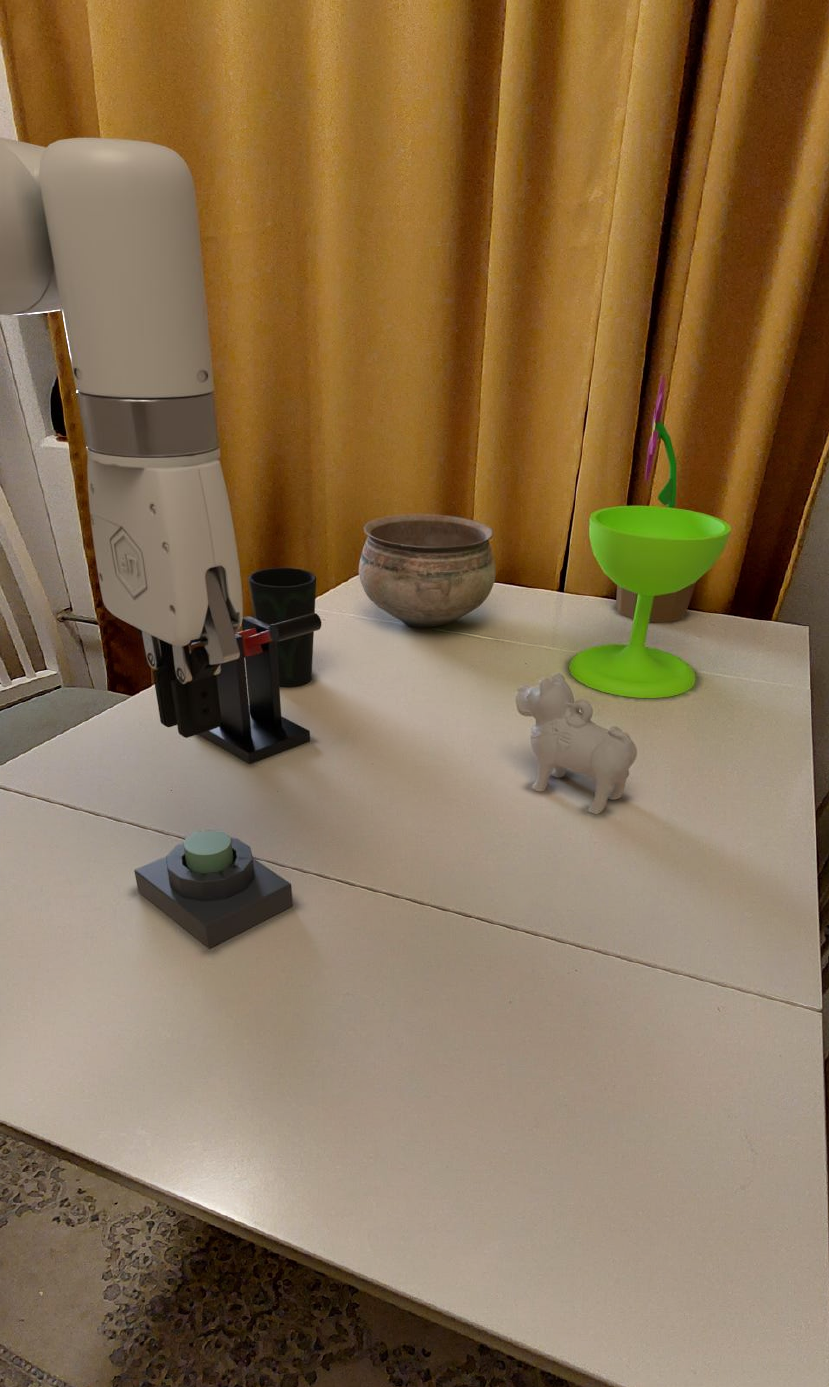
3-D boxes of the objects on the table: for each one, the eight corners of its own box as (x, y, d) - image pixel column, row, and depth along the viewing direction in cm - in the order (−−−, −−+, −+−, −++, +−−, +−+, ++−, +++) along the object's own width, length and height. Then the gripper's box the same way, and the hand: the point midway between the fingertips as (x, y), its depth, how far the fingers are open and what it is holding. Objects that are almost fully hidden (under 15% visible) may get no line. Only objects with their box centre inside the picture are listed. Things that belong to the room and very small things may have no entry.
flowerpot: (603, 592, 138) (638, 369, 120) (696, 601, 136) (746, 374, 118) (600, 622, 127) (638, 380, 109) (702, 631, 125) (758, 387, 107)
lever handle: (325, 632, 82) (317, 606, 81) (282, 645, 79) (274, 618, 78) (260, 653, 91) (252, 629, 90) (220, 664, 88) (211, 640, 87)
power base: (137, 892, 71) (129, 850, 68) (220, 855, 76) (215, 815, 73) (209, 949, 65) (203, 906, 63) (293, 906, 70) (290, 864, 68)
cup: (244, 677, 107) (234, 576, 99) (291, 661, 111) (286, 563, 104) (285, 696, 103) (278, 591, 95) (333, 678, 107) (330, 577, 100)
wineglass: (714, 669, 113) (751, 521, 102) (665, 709, 103) (699, 548, 92) (602, 641, 121) (625, 499, 110) (545, 675, 110) (564, 522, 99)
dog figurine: (524, 759, 92) (536, 660, 85) (635, 798, 86) (656, 694, 79) (496, 777, 88) (505, 675, 82) (608, 819, 82) (628, 712, 76)
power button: (177, 860, 68) (174, 841, 67) (215, 843, 70) (213, 824, 69) (203, 879, 66) (201, 860, 65) (242, 861, 68) (240, 842, 67)
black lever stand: (310, 740, 94) (305, 631, 86) (249, 764, 89) (238, 650, 82) (253, 711, 99) (244, 606, 92) (193, 731, 94) (179, 622, 87)
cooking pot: (505, 652, 116) (514, 555, 109) (363, 652, 115) (362, 554, 107) (478, 593, 136) (484, 508, 128) (356, 593, 134) (355, 507, 127)
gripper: (25, 415, 52) (86, 706, 63) (170, 456, 44) (211, 783, 55) (137, 406, 57) (176, 679, 68) (288, 441, 48) (304, 747, 59)
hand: (191, 724), depth 61 cm, fingers closed
